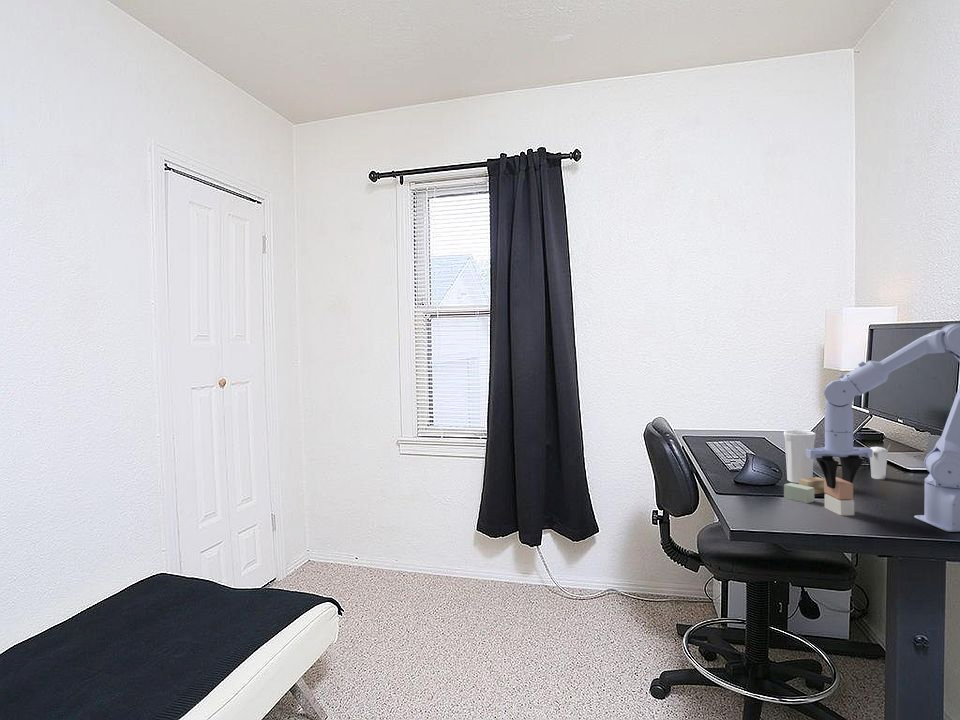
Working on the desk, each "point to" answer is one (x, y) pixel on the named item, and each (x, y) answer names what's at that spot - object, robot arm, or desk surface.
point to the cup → (798, 454)
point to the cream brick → (839, 505)
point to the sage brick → (799, 492)
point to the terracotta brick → (840, 489)
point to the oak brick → (813, 484)
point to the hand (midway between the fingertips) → (839, 487)
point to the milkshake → (878, 462)
